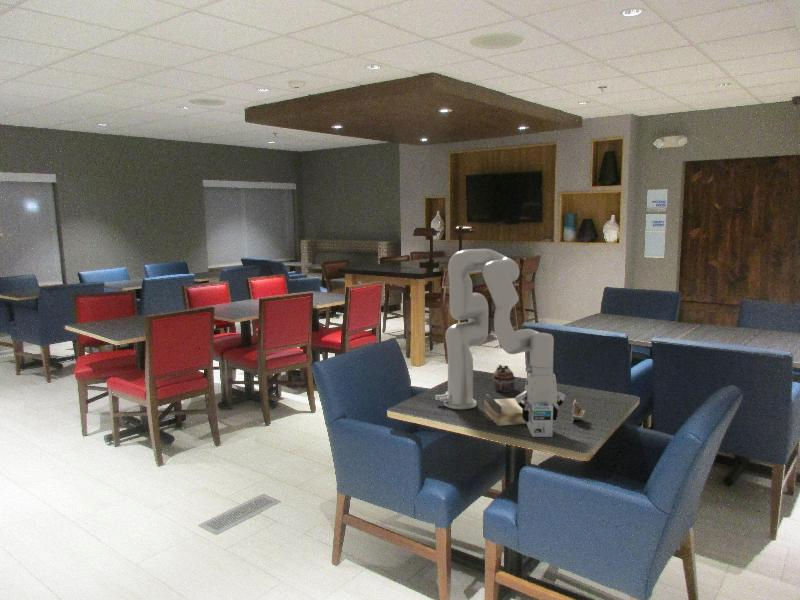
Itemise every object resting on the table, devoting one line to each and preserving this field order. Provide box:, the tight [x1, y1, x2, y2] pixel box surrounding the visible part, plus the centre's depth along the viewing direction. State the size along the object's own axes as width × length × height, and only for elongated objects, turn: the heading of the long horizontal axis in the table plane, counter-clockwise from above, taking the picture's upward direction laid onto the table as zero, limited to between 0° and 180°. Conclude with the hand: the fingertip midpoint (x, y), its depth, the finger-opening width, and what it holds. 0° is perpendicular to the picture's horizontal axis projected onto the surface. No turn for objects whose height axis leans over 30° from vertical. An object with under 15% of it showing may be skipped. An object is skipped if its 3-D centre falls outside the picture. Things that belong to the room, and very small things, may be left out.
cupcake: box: [491, 364, 517, 393], centre depth 243 cm, size 10×10×10 cm
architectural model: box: [571, 399, 586, 424], centre depth 205 cm, size 3×7×7 cm, turn 155°
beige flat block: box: [483, 393, 527, 426], centre depth 211 cm, size 14×16×6 cm
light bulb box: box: [526, 403, 554, 438], centre depth 196 cm, size 11×7×11 cm, turn 179°
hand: (539, 419), depth 196 cm, fingers open, 9 cm apart
